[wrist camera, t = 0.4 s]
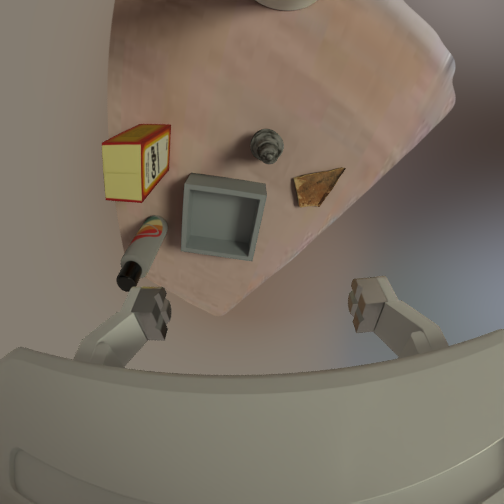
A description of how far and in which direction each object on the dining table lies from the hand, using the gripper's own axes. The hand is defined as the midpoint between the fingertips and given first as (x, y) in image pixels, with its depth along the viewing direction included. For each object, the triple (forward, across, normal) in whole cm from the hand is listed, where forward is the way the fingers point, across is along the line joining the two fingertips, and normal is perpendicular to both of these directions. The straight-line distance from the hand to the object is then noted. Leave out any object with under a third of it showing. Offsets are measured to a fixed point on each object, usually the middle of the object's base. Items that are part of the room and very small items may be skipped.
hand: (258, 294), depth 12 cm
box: (+43, +7, +17) cm, 47 cm away
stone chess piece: (+44, -2, +3) cm, 44 cm away
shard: (+44, -11, +12) cm, 47 cm away
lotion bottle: (+44, +23, +20) cm, 53 cm away
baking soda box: (+44, +20, +2) cm, 48 cm away
